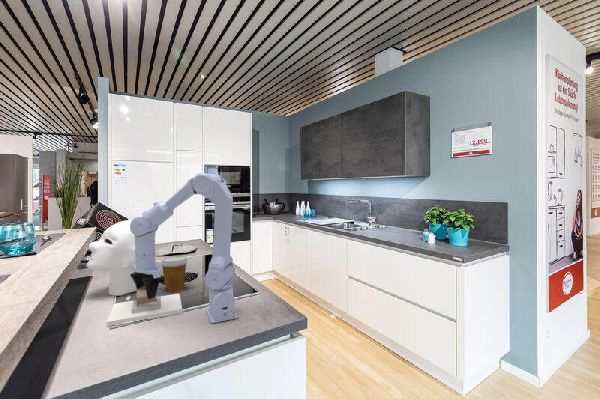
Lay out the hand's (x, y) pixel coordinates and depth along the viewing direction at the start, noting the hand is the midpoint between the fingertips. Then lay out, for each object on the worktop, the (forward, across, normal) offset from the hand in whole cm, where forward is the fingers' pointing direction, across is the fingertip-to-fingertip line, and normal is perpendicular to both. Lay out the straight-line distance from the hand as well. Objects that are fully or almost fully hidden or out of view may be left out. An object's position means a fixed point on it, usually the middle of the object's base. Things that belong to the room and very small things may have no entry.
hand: (146, 295), depth 93 cm
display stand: (+5, 0, 0) cm, 5 cm away
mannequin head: (+5, +25, -3) cm, 26 cm away
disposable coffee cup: (+5, +11, -16) cm, 20 cm away
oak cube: (+1, 0, 0) cm, 1 cm away
